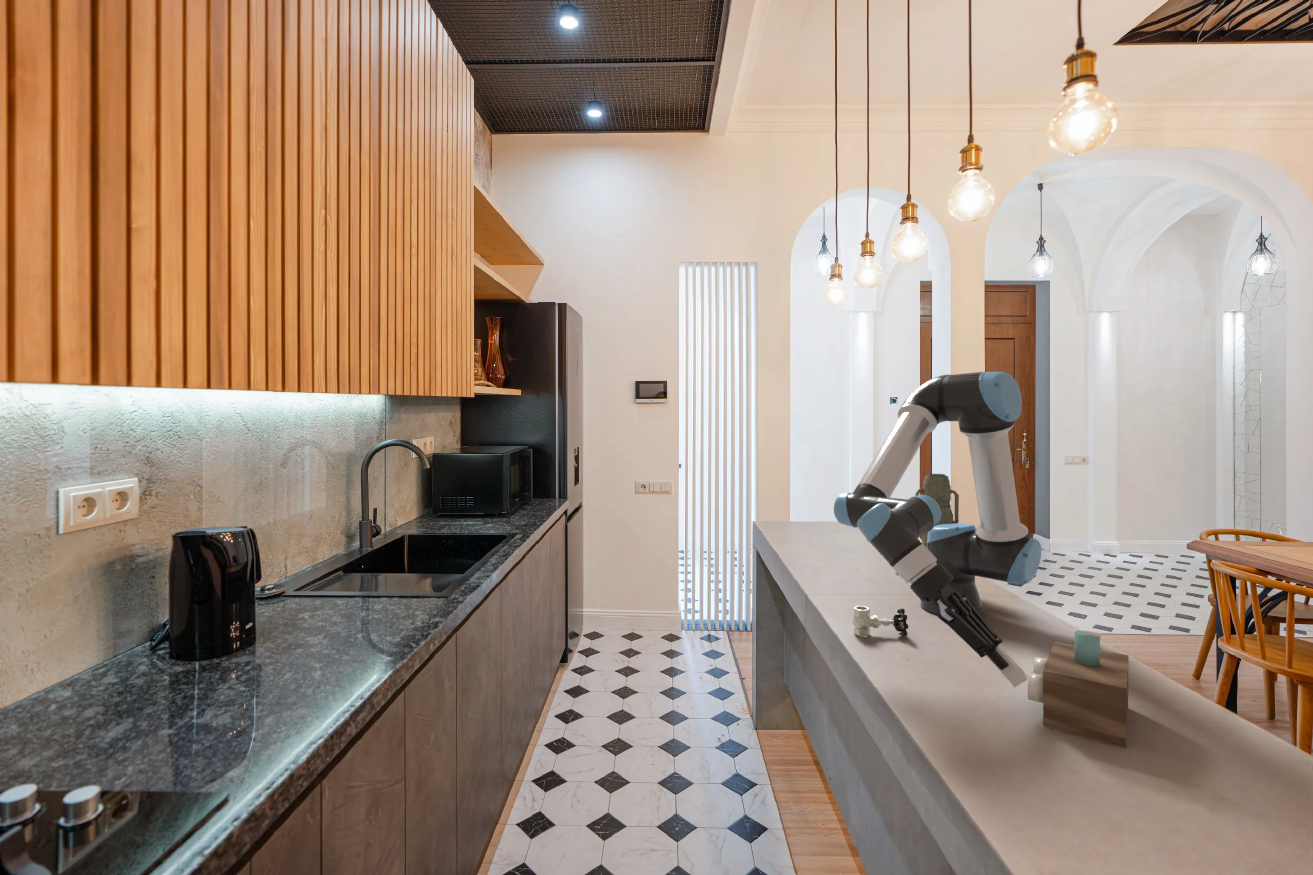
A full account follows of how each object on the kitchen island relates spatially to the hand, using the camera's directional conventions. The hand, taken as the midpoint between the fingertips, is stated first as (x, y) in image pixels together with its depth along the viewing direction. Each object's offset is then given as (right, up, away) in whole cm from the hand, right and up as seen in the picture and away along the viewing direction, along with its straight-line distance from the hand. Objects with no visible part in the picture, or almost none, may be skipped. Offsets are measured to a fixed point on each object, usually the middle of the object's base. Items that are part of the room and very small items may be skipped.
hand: (1021, 681), depth 105 cm
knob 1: (+11, -3, +2) cm, 12 cm away
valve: (-11, -5, +38) cm, 40 cm away
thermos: (+21, -3, +75) cm, 78 cm away
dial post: (+10, +4, -3) cm, 11 cm away
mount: (+10, -5, -2) cm, 11 cm away
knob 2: (+6, -3, -5) cm, 8 cm away
